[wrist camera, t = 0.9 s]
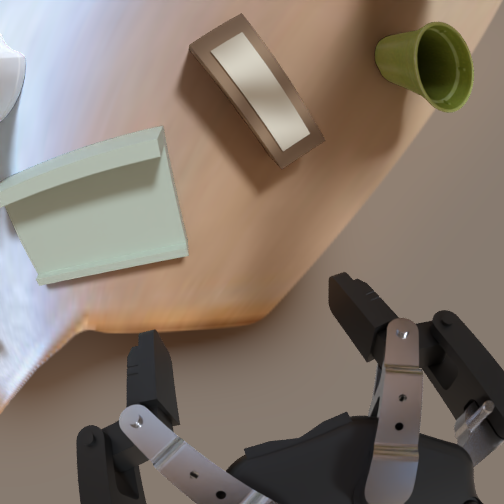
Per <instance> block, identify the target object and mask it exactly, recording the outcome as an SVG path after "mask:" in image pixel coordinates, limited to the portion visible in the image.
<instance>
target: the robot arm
mask: <svg viewBox="0 0 504 504" xmlns="http://www.w3.org/2000/svg"><path fill="white" fill-rule="evenodd" d="M329 307H330V310H331V312H332V313H333V315H334V316H335V318H336V319H337V320H338V322H339V323H340V325H341V326H342V328H343V329H344V330H345V332H346V333H347V335H348V336H349V337H350V339H351V340H352V342H353V343H354V344H355V346H356V347H357V349H358V350H359V352H360V353H361V355H362V356H363V357H364V359H365V360H366V362H369V361H371V360H373V359H375V360H376V361H377V363H378V364H377V369H376V377H375V383H374V390H373V396H372V401H371V405H370V409H369V413H368V416H352V417H350V416H349V415H348V413H347V412H345V413H343V414H340V415H338V416H336V417H334V418H331V419H329V420H326V421H324V422H322V423H321V424H319V425H318V426H316V427H315V428H314V429H312V430H311V431H309V432H308V433H306V434H305V435H303V436H302V437H300V438H295V439H287V440H278V441H269V442H266V443H263V444H260V445H256V446H252V447H249V448H245V449H244V451H245V455H244V456H242V457H240V458H239V459H237V460H236V461H235V462H234V463H233V464H232V465H231V466H230V467H229V468H228V469H227V470H226V472H225V471H224V470H222V469H221V468H220V467H218V466H217V465H215V464H214V463H212V462H211V461H210V460H208V459H207V458H206V457H204V456H203V455H202V454H201V453H199V452H198V451H197V450H195V449H194V448H193V447H192V446H190V445H189V444H188V443H187V442H185V441H184V440H183V439H181V438H180V437H178V436H177V435H176V434H175V433H174V432H173V426H176V425H180V422H179V416H178V408H177V402H176V394H175V386H174V378H173V369H172V361H171V357H170V355H169V352H168V350H167V348H166V347H165V345H164V343H163V341H162V340H161V338H160V336H159V334H158V332H157V331H156V330H151V331H147V332H143V333H140V334H139V342H138V343H139V345H138V346H135V347H132V348H131V351H130V353H129V355H128V357H127V368H128V369H127V407H126V409H125V410H124V411H123V412H122V413H121V415H120V418H119V421H117V422H116V423H114V424H112V425H110V426H108V427H106V428H103V429H100V428H99V427H97V426H94V425H91V426H90V425H89V426H87V427H84V428H83V429H82V430H81V431H80V432H79V434H78V436H77V467H78V468H77V469H78V483H79V493H80V502H81V504H146V501H145V496H144V491H143V486H142V481H141V476H140V471H139V465H140V464H142V463H144V462H146V461H148V460H151V462H152V463H153V465H154V467H155V468H156V469H157V470H158V471H159V472H160V473H161V474H162V475H164V476H165V477H166V478H167V479H168V480H169V481H170V482H171V483H172V484H173V485H175V486H176V487H177V488H178V489H179V490H180V491H182V492H183V493H184V494H185V495H186V496H188V497H189V498H190V499H191V500H193V501H194V502H195V503H197V504H483V503H482V502H481V501H480V500H479V498H478V496H477V494H476V491H475V486H474V477H473V476H474V474H473V473H474V469H473V467H474V466H476V465H477V464H478V463H479V462H481V461H482V460H483V459H484V458H485V457H486V456H487V455H489V454H490V453H491V452H492V451H494V450H495V449H496V448H498V447H499V446H501V445H502V444H503V443H504V371H503V369H502V368H501V367H500V366H499V364H498V363H497V362H496V361H495V359H494V358H493V357H492V356H491V354H490V353H489V352H488V351H487V350H486V348H485V347H484V346H483V345H482V344H481V342H480V341H479V340H478V339H477V338H476V337H475V335H474V334H473V333H472V332H471V331H470V330H469V329H468V328H467V326H466V325H465V324H464V323H463V322H462V321H461V320H460V319H459V317H458V316H457V315H456V314H454V313H453V312H450V311H446V310H443V311H439V312H437V313H436V314H435V315H434V317H433V320H432V321H429V322H424V323H418V324H415V323H414V322H412V321H411V320H409V319H405V318H399V317H398V316H397V315H396V314H395V313H394V312H393V311H392V310H391V309H390V307H389V306H388V305H387V304H386V303H385V302H384V301H383V300H382V299H381V298H379V296H378V295H377V293H376V292H374V290H373V289H372V288H371V287H370V286H369V285H368V284H367V283H365V282H363V281H361V280H359V279H356V280H353V279H352V278H351V277H350V276H349V275H348V274H347V273H346V272H343V273H340V274H337V275H334V276H331V277H330V278H329ZM419 368H422V369H423V371H424V372H425V374H426V375H427V377H428V378H429V379H430V381H431V382H432V384H433V385H434V387H435V388H436V390H437V391H438V393H439V394H440V396H441V397H442V399H443V400H444V402H445V403H446V405H447V407H448V408H449V409H450V411H451V413H452V414H453V416H454V417H455V419H456V423H455V427H454V430H455V437H456V439H457V442H458V443H457V444H454V443H451V442H447V441H443V440H440V439H437V438H434V437H430V436H427V435H424V434H421V433H419V432H420V422H421V410H422V392H423V371H422V369H419Z"/></svg>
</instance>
